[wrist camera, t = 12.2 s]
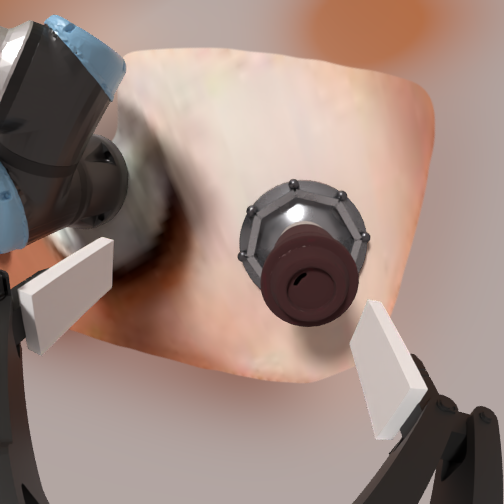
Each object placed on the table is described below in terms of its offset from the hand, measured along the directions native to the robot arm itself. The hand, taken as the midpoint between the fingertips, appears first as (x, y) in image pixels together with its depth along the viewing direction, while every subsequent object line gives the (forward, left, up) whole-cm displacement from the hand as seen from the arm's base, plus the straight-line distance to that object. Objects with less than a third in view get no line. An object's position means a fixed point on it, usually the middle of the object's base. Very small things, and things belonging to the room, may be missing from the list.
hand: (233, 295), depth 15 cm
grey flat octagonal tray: (+6, -5, -30) cm, 31 cm away
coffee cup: (+6, -5, -29) cm, 30 cm away
